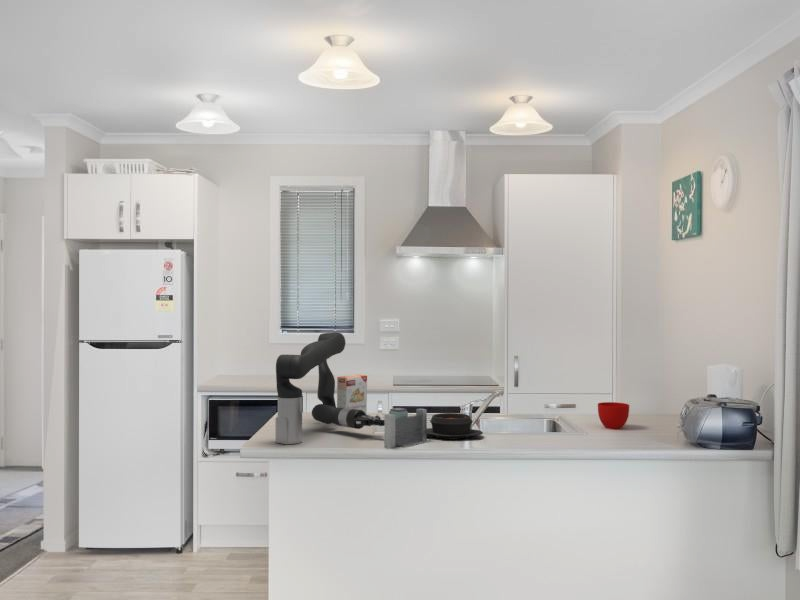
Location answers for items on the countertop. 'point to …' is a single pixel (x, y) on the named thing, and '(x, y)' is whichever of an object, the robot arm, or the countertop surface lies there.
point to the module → (399, 412)
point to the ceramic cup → (613, 414)
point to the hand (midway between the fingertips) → (383, 423)
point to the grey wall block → (405, 429)
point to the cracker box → (352, 392)
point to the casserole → (452, 426)
